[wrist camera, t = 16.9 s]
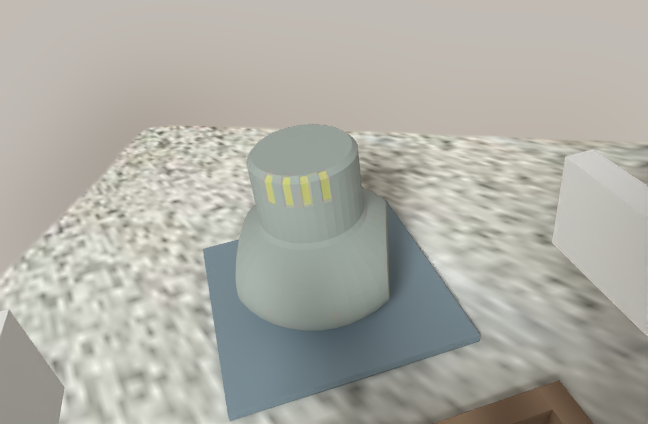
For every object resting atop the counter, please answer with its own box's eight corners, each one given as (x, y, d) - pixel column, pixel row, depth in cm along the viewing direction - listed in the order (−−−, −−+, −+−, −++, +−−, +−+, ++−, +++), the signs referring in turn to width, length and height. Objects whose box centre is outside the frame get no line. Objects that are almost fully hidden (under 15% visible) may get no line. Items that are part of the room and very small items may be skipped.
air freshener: (391, 356, 28) (381, 206, 22) (242, 357, 29) (195, 214, 23) (388, 229, 37) (380, 97, 31) (273, 234, 38) (245, 107, 32)
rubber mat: (386, 205, 40) (386, 200, 40) (479, 340, 29) (480, 335, 29) (204, 254, 38) (202, 248, 38) (230, 420, 27) (228, 415, 26)
